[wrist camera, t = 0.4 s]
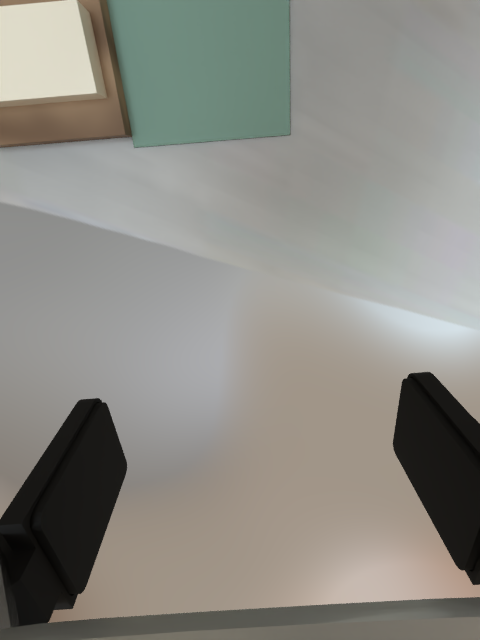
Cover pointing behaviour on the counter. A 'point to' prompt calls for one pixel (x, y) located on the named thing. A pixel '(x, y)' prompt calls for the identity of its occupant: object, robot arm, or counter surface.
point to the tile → (48, 54)
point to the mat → (203, 68)
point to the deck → (73, 116)
